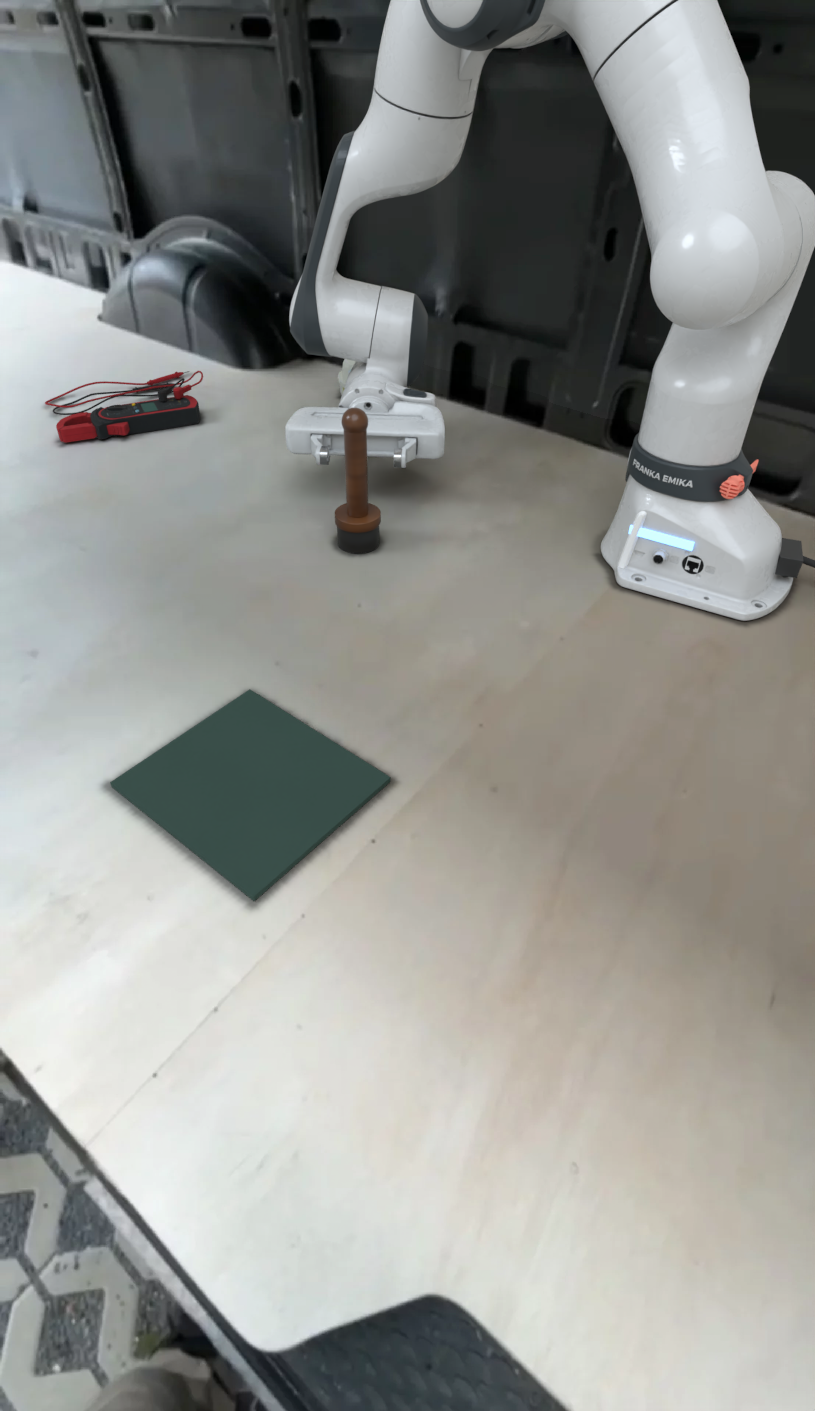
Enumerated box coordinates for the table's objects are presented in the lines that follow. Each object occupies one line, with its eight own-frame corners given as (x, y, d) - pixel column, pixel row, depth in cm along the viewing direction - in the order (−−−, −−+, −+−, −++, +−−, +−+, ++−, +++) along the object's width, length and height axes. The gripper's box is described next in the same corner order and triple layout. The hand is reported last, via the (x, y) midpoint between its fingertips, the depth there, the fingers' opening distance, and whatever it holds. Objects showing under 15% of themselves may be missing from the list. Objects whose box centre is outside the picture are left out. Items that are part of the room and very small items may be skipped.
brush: (390, 541, 99) (390, 407, 88) (360, 559, 96) (356, 423, 84) (356, 526, 102) (352, 394, 90) (326, 544, 98) (318, 409, 87)
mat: (390, 781, 69) (390, 777, 69) (254, 901, 60) (253, 897, 59) (250, 693, 77) (249, 688, 77) (111, 786, 68) (109, 782, 68)
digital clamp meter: (221, 395, 122) (51, 420, 114) (225, 424, 125) (59, 450, 117) (186, 347, 137) (33, 366, 129) (190, 374, 140) (41, 394, 132)
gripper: (291, 388, 104) (272, 432, 94) (447, 394, 103) (444, 438, 93) (295, 435, 108) (277, 481, 98) (444, 440, 108) (442, 487, 97)
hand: (360, 460), depth 96 cm, fingers open, 8 cm apart
